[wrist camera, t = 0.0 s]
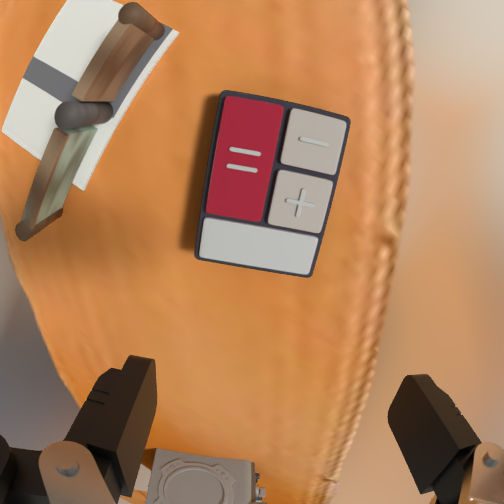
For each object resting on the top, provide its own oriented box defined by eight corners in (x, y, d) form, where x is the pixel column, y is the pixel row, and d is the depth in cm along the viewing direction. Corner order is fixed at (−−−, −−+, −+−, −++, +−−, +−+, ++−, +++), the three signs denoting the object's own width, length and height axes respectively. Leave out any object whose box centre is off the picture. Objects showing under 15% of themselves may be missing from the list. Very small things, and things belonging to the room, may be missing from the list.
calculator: (355, 117, 23) (312, 283, 28) (340, 118, 27) (305, 263, 32) (220, 87, 22) (192, 263, 28) (224, 93, 26) (198, 245, 31)
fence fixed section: (153, 20, 22) (125, -3, 15) (171, 29, 22) (147, 7, 16) (91, 116, 25) (50, 121, 19) (107, 127, 26) (69, 134, 19)
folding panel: (86, 121, 25) (49, 127, 19) (100, 130, 25) (65, 137, 20) (47, 212, 29) (13, 234, 23) (59, 220, 29) (26, 245, 23)
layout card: (78, -13, 19) (76, -14, 19) (179, 33, 22) (178, 32, 22) (2, 131, 25) (1, 131, 25) (84, 190, 29) (83, 191, 28)
